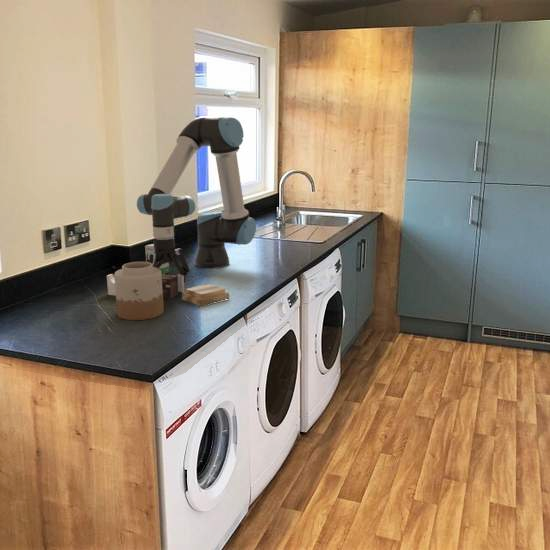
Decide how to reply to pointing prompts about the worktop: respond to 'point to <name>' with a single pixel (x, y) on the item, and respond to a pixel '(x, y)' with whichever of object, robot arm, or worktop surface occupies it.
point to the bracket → (111, 285)
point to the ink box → (151, 250)
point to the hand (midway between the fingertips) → (167, 295)
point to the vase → (139, 291)
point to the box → (169, 286)
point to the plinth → (206, 300)
